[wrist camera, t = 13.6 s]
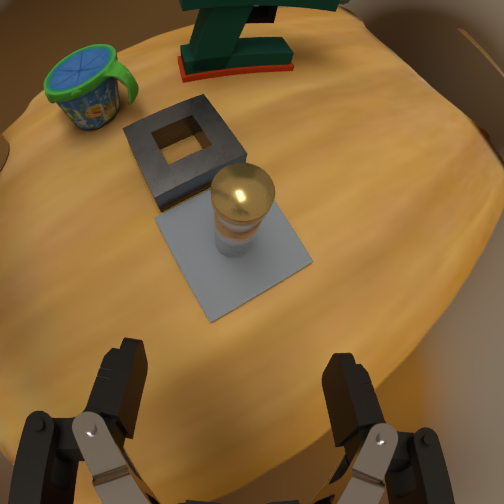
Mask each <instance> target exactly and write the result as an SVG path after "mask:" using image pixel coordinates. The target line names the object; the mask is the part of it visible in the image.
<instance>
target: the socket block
mask: <svg viewBox="0 0 504 504" xmlns="http://www.w3.org/2000/svg"><path fill="white" fill-rule="evenodd" d="M123 130H124V133H125V135H126V138H127V140H128V142H129V145H130V147H131V149H132V151H133V154H134V156H135V158H136V160H137V162H138V165H139V167H140V169H141V171H142V173H143V175H144V178H145V180H146V182H147V184H148V186H149V188H150V190H151V192H152V194H153V196H154V198H155V200H156V203H157V205H158V207H159V209H160V211H161V212H163V211H164V210H166V209H168V208H170V207H172V206H174V205H176V204H178V203H180V202H182V201H184V200H186V199H188V198H189V197H191V196H193V195H195V194H197V193H199V192H201V191H204V190H206V189H208V188H210V187H211V184H212V181H213V179H214V177H215V175H216V174H217V173H218V172H219V171H220V170H221V169H223V168H224V167H226V166H228V165H231V164H234V163H245V162H246V157H247V153H246V151H245V150H244V148H243V147H242V145H241V144H240V143H239V141H238V140H237V138H236V137H235V136H234V134H233V133H232V132H231V130H230V129H229V127H228V126H227V125H226V123H225V122H224V121H223V119H222V118H221V116H220V115H219V114H218V112H217V111H216V110H215V108H214V107H213V106H212V104H211V103H210V102H209V100H208V99H207V98H206V97H205V95H204V94H202V95H199V96H196V97H194V98H191V99H188V100H186V101H183V102H180V103H178V104H175V105H173V106H171V107H168V108H166V109H163V110H161V111H159V112H156V113H154V114H152V115H150V116H147V117H145V118H143V119H141V120H139V121H137V122H135V123H133V124H131V125H129V126H127V127H125V128H123ZM193 134H194V135H195V137H196V138H197V140H198V141H199V143H200V144H201V146H202V148H203V149H202V150H200V151H198V152H195V153H193V154H191V155H189V156H187V157H184V158H182V159H180V160H178V161H176V162H174V163H172V164H170V165H168V164H167V163H166V161H165V159H164V157H163V155H162V153H161V151H160V149H162V148H164V147H167V146H169V145H171V144H173V143H175V142H177V141H180V140H182V139H184V138H186V137H189V136H191V135H193Z"/></svg>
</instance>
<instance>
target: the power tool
mask: <svg viewBox="0 0 504 504" xmlns="http://www.w3.org/2000/svg"><path fill="white" fill-rule="evenodd" d="M349 1H350V0H179V2H180V5H181V8H182V11H187V10H194V9H200V10H199V14H198V17H197V20H196V23H195V26H194V29H193V33H192V36H191V39H190V43H189V44H187V45H181V46H180V48H181V56H178V64H179V68H180V72H181V76H182V81H183V83H185V82H190V81H195V80H201V79H207V78H214V77H221V76H228V75H237V74H247V73H259V72H275V71H293V69H294V65H293V64H292V62H291V60H292V57H293V54H294V53H293V51H292V50H291V49H290V47H289V46H288V45H287V43H286V42H285V41H284V39H283V38H282V37H254V38H239V36H240V34H241V32H242V30H243V28H244V25H245V23H274V20H275V16H276V11H277V7H278V6H289V7H301V8H311V9H320V10H327V11H334V12H336V10H337V7H338V5H339V4H346V3H348V2H349ZM254 5H259V6H254Z"/></svg>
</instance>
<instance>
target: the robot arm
mask: <svg viewBox="0 0 504 504" xmlns="http://www.w3.org/2000/svg"><path fill="white" fill-rule="evenodd" d="M8 152H9V144H8V142H7V141H6V140H5V139H4V138H3V136H2V135H1V134H0V170H1V169H2V167H3V165H4V163H5V161H6V159H7V156H8ZM147 370H148V362H147V358H146V353H145V349H144V344H143V341H142V340H138V339H132V338H126V337H125V338H124V339H123V341H122V344H121V346H120V349H116V348H112V349H111V350H110V351H109V352H108V353H107V354H106V355H105V356H104V358H103V361H102V363H101V366H100V369H99V371H98V374H97V377H96V380H95V382H94V385H93V388H92V391H91V394H90V397H89V400H88V403H87V406H86V408H85V410H84V411H83V412H82V413H80V414H79V415H77V416H76V417H73V418H51V417H50V416H49V415H48V414H47V413H45V412H43V411H34V412H32V413H31V414H30V415H29V416H28V417H27V419H26V422H25V425H24V428H23V432H22V436H21V439H20V443H19V447H18V451H17V455H16V460H15V465H14V470H13V475H12V481H11V487H10V494H9V502H8V504H73V502H74V492H75V484H76V477H77V470H78V463H79V461H85V462H86V464H87V466H88V468H89V470H90V472H91V474H92V477H93V481H92V482H93V486H94V488H95V490H96V492H97V494H98V496H99V498H100V499H101V501H102V503H103V504H161V503H160V502H159V501H158V499H157V498H156V496H155V495H154V494H153V492H152V491H151V489H150V488H149V487H148V486H147V484H146V483H145V482H144V480H143V479H142V477H141V476H140V474H139V472H138V471H137V469H136V468H135V466H134V464H133V463H132V461H131V459H130V457H129V456H128V454H127V452H126V450H125V449H124V447H123V446H124V441H125V438H129V439H133V435H134V430H135V425H136V420H137V415H138V411H139V406H140V402H141V397H142V393H143V389H144V384H145V380H146V376H147ZM371 383H372V382H371V379H370V377H369V374H368V372H367V371H366V370H365V368H364V367H363V366H362V365H361V364H356V363H355V360H354V357H353V355H352V354H351V353H334V354H333V355H332V357H331V359H330V361H329V363H328V365H327V367H326V368H325V370H324V372H323V375H322V387H323V391H324V396H325V400H326V405H327V409H328V414H329V418H330V423H331V427H332V432H333V437H334V442H335V447H341V446H344V448H345V452H344V453H343V455H342V457H341V458H340V460H339V462H338V464H337V466H336V468H335V469H334V471H333V473H332V474H331V476H330V477H329V479H328V481H327V482H326V484H325V485H324V486H323V488H321V489H320V491H319V492H318V493H317V494H316V495H315V496H314V498H313V499H312V501H311V502H310V504H378V502H379V501H380V499H381V496H382V494H383V492H384V489H385V484H383V478H384V476H385V482H386V488H387V494H388V500H389V504H455V502H454V497H453V492H452V488H451V483H450V479H449V475H448V471H447V467H446V463H445V459H444V456H443V452H442V449H441V446H440V442H439V439H438V436H437V434H436V433H435V432H434V431H433V430H432V429H430V428H421V429H419V430H418V431H417V432H415V433H408V432H398V431H396V430H395V429H394V428H393V427H392V426H391V425H389V424H386V422H385V420H384V417H383V414H382V411H381V409H380V405H379V402H378V399H377V396H376V394H375V392H374V388H373V385H372V384H371ZM179 504H219V503H215V502H204V501H193V500H186V503H179ZM268 504H299V501H298V500H294V501H284V502H271V503H268Z"/></svg>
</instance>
